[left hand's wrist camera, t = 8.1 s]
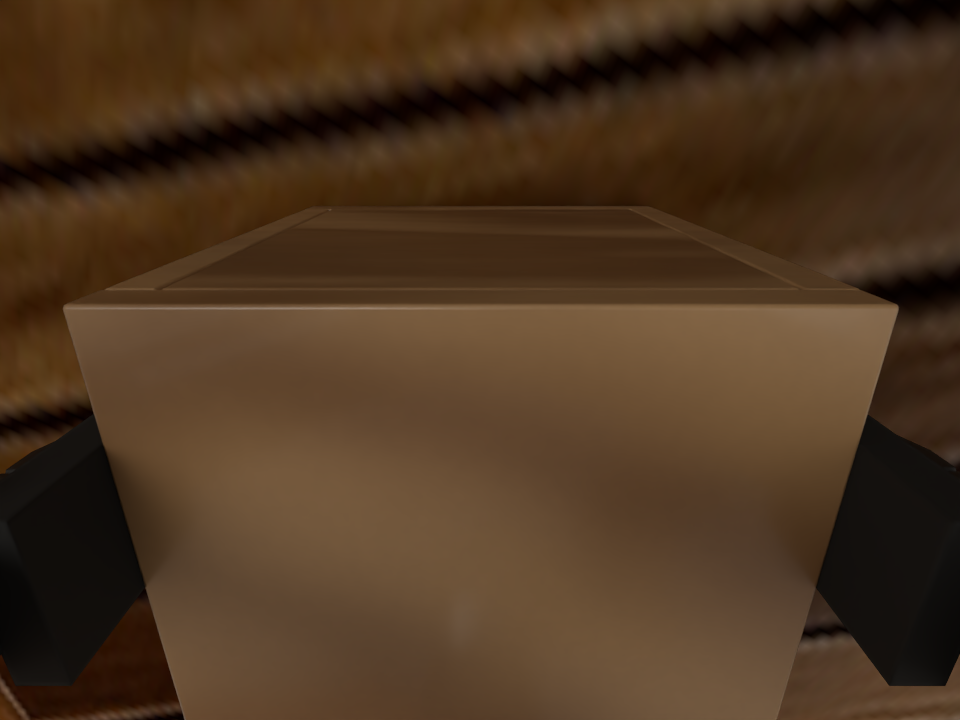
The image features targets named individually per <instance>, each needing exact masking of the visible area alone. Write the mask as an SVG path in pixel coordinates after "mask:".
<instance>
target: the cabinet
mask: <svg viewBox="0 0 960 720" xmlns="http://www.w3.org/2000/svg"><path fill="white" fill-rule="evenodd" d="M898 310H899V308H898V305H896V304H894V303H892V302H889V301H887V300H884V299H882V298H879V297H877V296H874V295H872V294H869V293H867V292H864V291H861V290H859V289H858V288H855V287H853V286H850V285H848V284H845V283H843V282H840V281H838V280H835V279H832V278H830V277H827V276H825V275H822V274H820V273H817V272H815V271H812V270H810V269H807V268H805V267H802V266H799V265H797V264H794V263H792V262H789V261H787V260H784V259H782V258H779V257H777V256H774V255H771V254H769V253H766V252H764V251H761V250H759V249H756V248H754V247H751V246H749V245H746V244H744V243H741V242H738V241H736V240H733V239H731V238H728V237H726V236H723V235H721V234H718V233H716V232H713V231H711V230H708V229H705V228H703V227H700V226H698V225H695V224H693V223H690V222H688V221H685V220H683V219H680V218H677V217H675V216H672V215H670V214H667V213H665V212H662V211H660V210H657V209H654V208H652V207H649V206H312V207H310V208H307V209H305V210H303V211H300V212H298V213H295V214H293V215H290V216H288V217H285V218H283V219H280V220H278V221H275V222H273V223H270V224H268V225H265V226H263V227H260V228H258V229H255V230H253V231H250V232H247V233H245V234H242V235H240V236H237V237H235V238H232V239H230V240H227V241H225V242H222V243H220V244H217V245H215V246H212V247H210V248H207V249H205V250H202V251H200V252H197V253H195V254H192V255H189V256H187V257H184V258H182V259H179V260H177V261H174V262H172V263H169V264H167V265H164V266H162V267H159V268H157V269H154V270H152V271H149V272H147V273H144V274H142V275H139V276H137V277H134V278H131V279H129V280H126V281H124V282H121V283H119V284H116V285H114V286H111V287H109V288H107V289H105V290H100V291H97V292H95V293H92V294H90V295H87V296H85V297H82V298H80V299H77V300H75V301H72V302H70V303H67V304H65V305H64V306H63V311H64V314H65V318H66V321H67V324H68V328H69V331H70V335H71V338H72V341H73V345H74V348H75V351H76V355H77V358H78V362H79V365H80V368H81V372H82V375H83V378H84V382H85V385H86V389H87V392H88V395H89V399H90V402H91V405H92V409H93V412H94V416H95V419H96V422H97V426H98V429H99V432H100V436H101V439H102V443H103V446H104V449H105V453H106V456H107V459H108V463H109V466H110V469H111V473H112V476H113V480H114V483H115V486H116V490H117V493H118V496H119V500H120V503H121V507H122V510H123V513H124V517H125V520H126V523H127V527H128V530H129V534H130V537H131V540H132V544H133V547H134V550H135V554H136V557H137V561H138V564H139V567H140V571H141V574H142V577H143V581H144V584H145V588H146V591H147V594H148V598H149V601H150V604H151V608H152V611H153V615H154V618H155V621H156V625H157V628H158V631H159V635H160V638H161V641H162V645H163V648H164V652H165V655H166V658H167V662H168V665H169V668H170V672H171V675H172V679H173V682H174V685H175V689H176V692H177V695H178V699H179V702H180V706H181V709H182V712H183V716H184V719H185V720H777V717H778V714H779V710H780V707H781V704H782V700H783V697H784V694H785V690H786V687H787V683H788V680H789V677H790V673H791V670H792V667H793V663H794V660H795V657H796V653H797V650H798V646H799V643H800V640H801V636H802V633H803V630H804V626H805V623H806V620H807V616H808V613H809V609H810V606H811V603H812V599H813V596H814V593H815V589H816V586H817V583H818V579H819V576H820V572H821V569H822V566H823V562H824V559H825V556H826V552H827V549H828V546H829V542H830V539H831V535H832V532H833V529H834V525H835V522H836V519H837V515H838V512H839V509H840V505H841V502H842V498H843V495H844V492H845V488H846V485H847V482H848V478H849V475H850V472H851V468H852V465H853V461H854V458H855V455H856V451H857V448H858V445H859V441H860V438H861V435H862V431H863V428H864V424H865V421H866V418H867V414H868V411H869V408H870V404H871V401H872V398H873V394H874V391H875V387H876V384H877V381H878V377H879V374H880V371H881V367H882V364H883V361H884V357H885V354H886V350H887V347H888V344H889V340H890V337H891V334H892V330H893V327H894V324H895V320H896V317H897V313H898Z"/></svg>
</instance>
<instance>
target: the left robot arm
mask: <svg viewBox="0 0 960 720" xmlns="http://www.w3.org/2000/svg"><path fill="white" fill-rule="evenodd" d="M144 588H145V584H144V581H143V577H142V574H141V571H140V567H139V564H138V561H137V557H136V554H135V550H134V547H133V544H132V540H131V537H130V534H129V530H128V527H127V523H126V520H125V517H124V513H123V510H122V507H121V503H120V500H119V496H118V493H117V490H116V486H115V483H114V480H113V476H112V473H111V469H110V466H109V463H108V459H107V456H106V453H105V449H104V446H103V443H102V439H101V436H100V432H99V429H98V426H97V422H96V419H95V416H94V414H93V415H92V416H90V417H89V418H87V419H86V420H85V421H83V422H82V423H80V424H79V425H78V426H76V427H75V428H73V429H72V430H70V431H69V432H68V433H66V434H65V435H63V436H62V437H61V438H59V439H58V440H56V441H55V442H53V443H50V444H48V445H46V446H44V447H42V448H39V449H37V450H35V451H33V452H31V453H30V454H28V455H27V456H25V457H24V458H22V459H21V460H20V461H18V462H17V463H15V464H14V465H12V466H11V467H10V468H8V469H7V470H6V473H5V474H0V655H1V654H2V657H3V659H4V661H5V663H6V665H7V668H8V670H9V672H10V674H11V676H12V679H13V681H14V683H15V685H16V686H71V685H72V684H73V683H74V681H75V680H76V679H77V677H78V676H79V675H80V673H81V672H82V671H83V669H84V668H85V667H86V665H87V664H88V663H89V661H90V660H91V659H92V657H93V656H94V655H95V653H96V652H97V651H98V649H99V648H100V647H101V645H102V644H103V643H104V641H105V640H106V639H107V637H108V636H109V635H110V633H111V632H112V631H113V629H114V628H115V627H116V625H117V624H118V623H119V621H120V620H121V619H122V617H123V616H124V615H125V613H126V612H127V611H128V609H129V608H130V607H131V605H132V604H133V603H134V601H135V600H136V599H137V597H138V596H139V595H140V593H141V592H142V591H143V589H144ZM816 588H817V590H818V591H819V592H820V594H821V595H822V596H823V598H824V599H825V600H826V602H827V603H828V604H829V606H830V607H831V608H832V610H833V611H834V612H835V614H836V615H837V616H838V618H839V619H840V620H841V622H842V623H843V624H844V626H845V627H846V628H847V630H848V631H849V632H850V634H851V635H852V636H853V638H854V639H855V640H856V642H857V643H858V644H859V646H860V647H861V648H862V650H863V651H864V652H865V654H866V655H867V656H868V658H869V659H870V660H871V662H872V663H873V664H874V666H875V667H876V669H877V670H878V671H879V673H880V674H881V675H882V677H883V678H884V679H885V681H886V682H887V683H888V685H889V686H945V685H946V683H947V681H948V679H949V676H950V674H951V672H952V670H953V668H954V665H955V663H956V661H957V659H958V656H959V654H960V472H956V468H955V467H954V466H952V465H951V464H949V463H948V462H946V461H945V460H944V459H942V458H941V457H939V456H938V455H936V454H935V453H933V452H932V451H931V450H929V449H927V448H924V447H922V446H920V445H918V444H915V443H913V442H911V441H909V440H907V439H904V438H902V437H900V436H898V435H896V434H894V433H893V432H892V431H890V430H889V429H887V428H886V427H885V426H883V425H882V424H880V423H879V422H878V421H876V420H875V419H873V418H872V417H871V416H869V415H868V414H867V418H866V421H865V424H864V428H863V431H862V435H861V438H860V441H859V445H858V448H857V451H856V455H855V458H854V461H853V465H852V468H851V472H850V475H849V478H848V482H847V485H846V488H845V492H844V495H843V498H842V502H841V505H840V509H839V512H838V515H837V519H836V522H835V525H834V529H833V532H832V535H831V539H830V542H829V546H828V549H827V552H826V556H825V559H824V562H823V566H822V569H821V572H820V576H819V579H818V583H817V586H816Z"/></svg>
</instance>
